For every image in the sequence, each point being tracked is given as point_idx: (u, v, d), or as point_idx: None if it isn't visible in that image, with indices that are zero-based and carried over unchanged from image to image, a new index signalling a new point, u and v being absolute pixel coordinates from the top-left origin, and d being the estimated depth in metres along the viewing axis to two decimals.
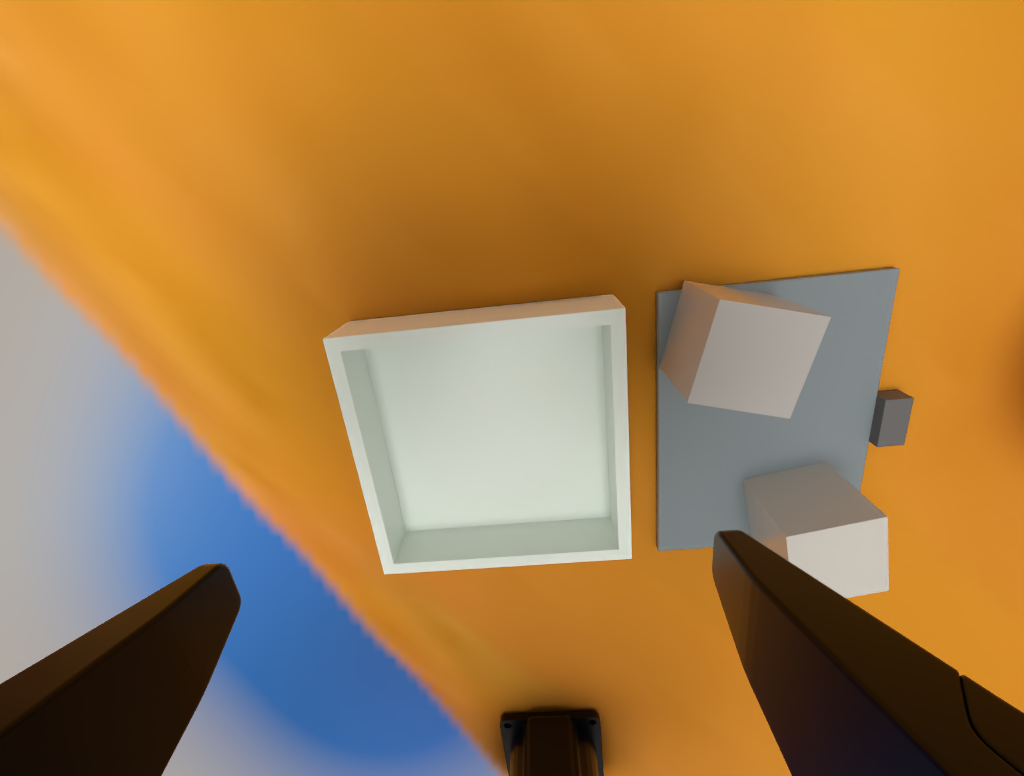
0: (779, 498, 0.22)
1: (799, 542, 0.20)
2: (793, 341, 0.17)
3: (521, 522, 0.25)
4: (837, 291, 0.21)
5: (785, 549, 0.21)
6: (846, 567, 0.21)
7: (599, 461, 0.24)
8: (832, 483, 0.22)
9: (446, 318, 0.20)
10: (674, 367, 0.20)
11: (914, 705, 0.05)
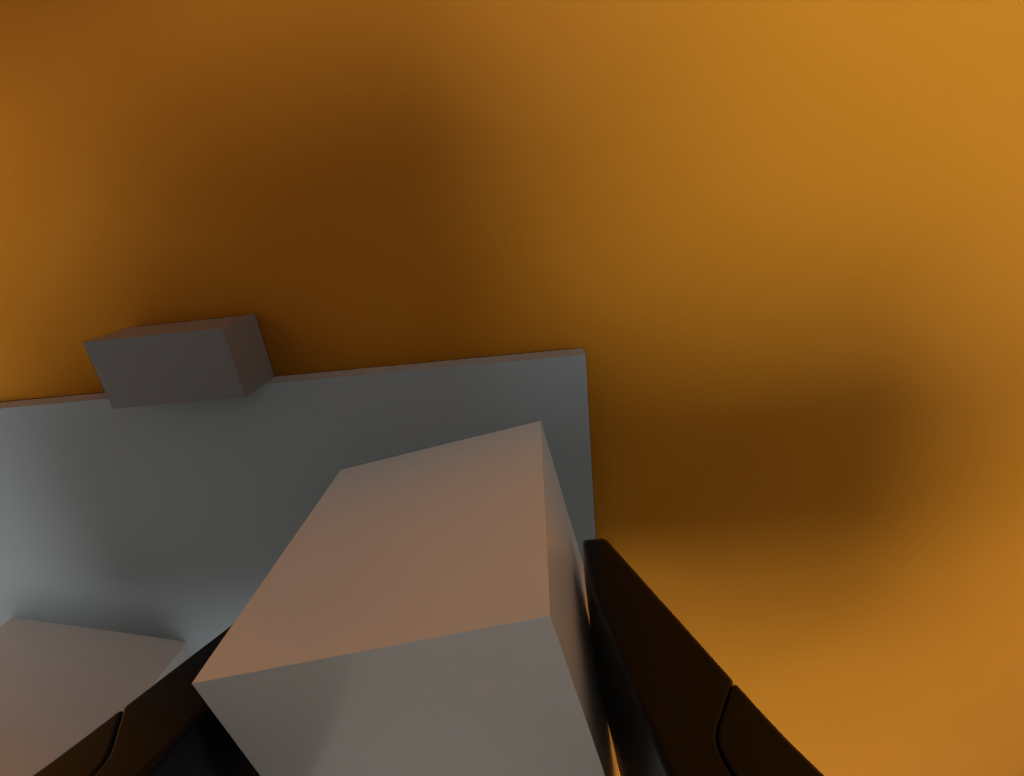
0: None
1: None
2: None
3: None
4: None
5: None
6: (439, 751, 0.05)
7: None
8: None
9: None
10: None
11: (681, 714, 0.05)
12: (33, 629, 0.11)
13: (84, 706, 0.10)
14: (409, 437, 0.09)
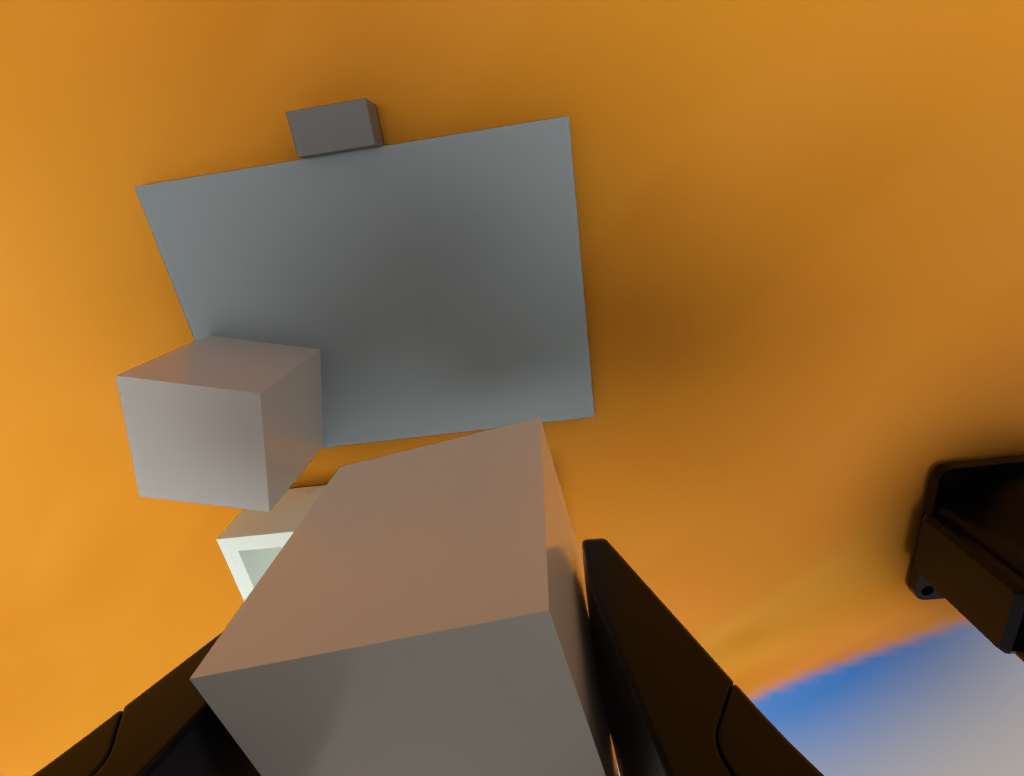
0: None
1: None
2: (159, 411, 0.14)
3: None
4: (184, 260, 0.16)
5: None
6: (437, 747, 0.05)
7: None
8: None
9: None
10: None
11: (680, 715, 0.05)
12: (224, 339, 0.17)
13: (271, 360, 0.16)
14: (466, 180, 0.15)
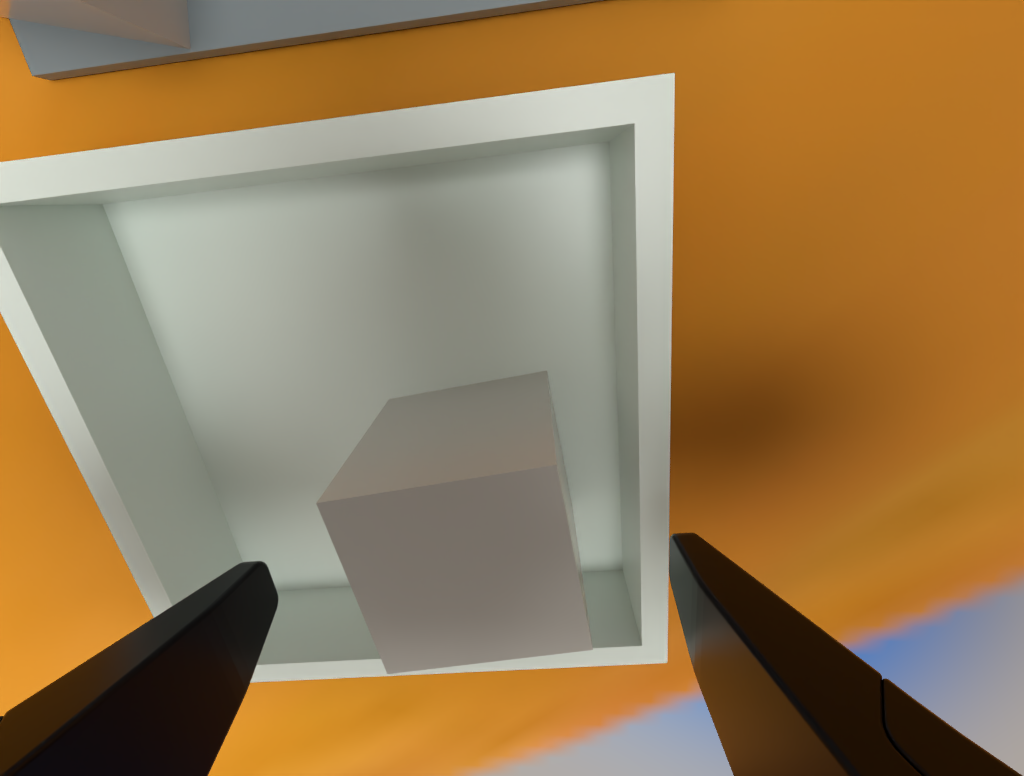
0: None
1: (399, 653, 0.09)
2: None
3: (614, 361, 0.11)
4: None
5: (430, 659, 0.09)
6: (473, 564, 0.08)
7: (447, 184, 0.10)
8: None
9: None
10: (77, 9, 0.08)
11: (833, 708, 0.05)
12: None
13: None
14: None
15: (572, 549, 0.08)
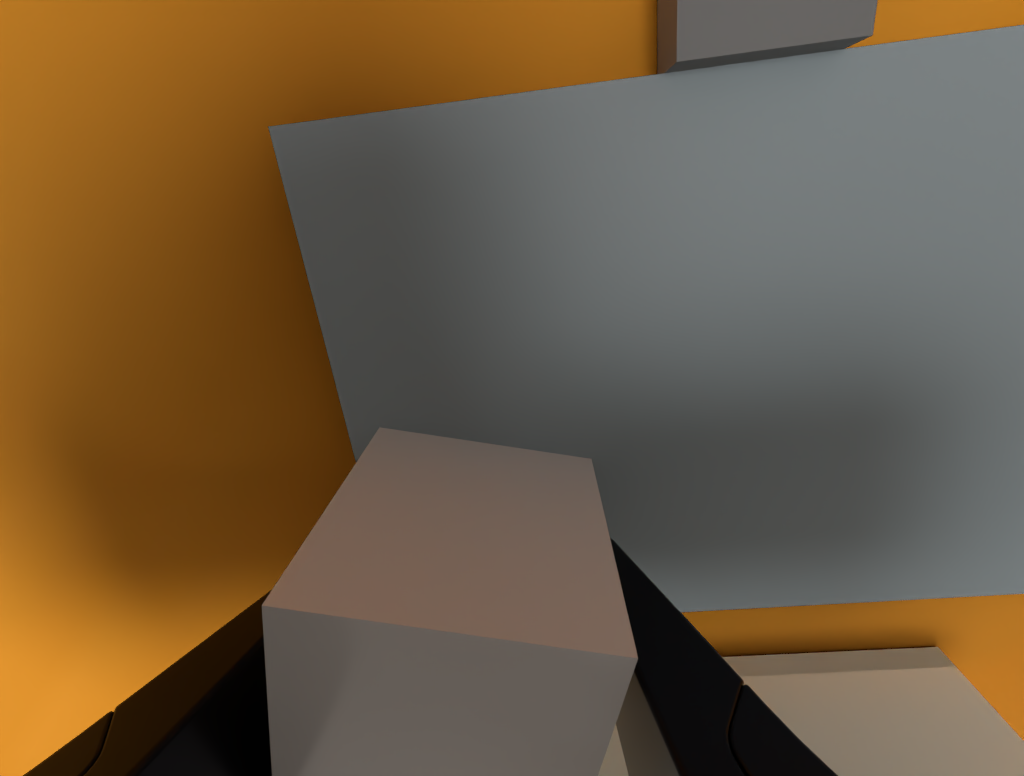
0: None
1: None
2: (359, 683, 0.05)
3: None
4: (352, 284, 0.08)
5: None
6: None
7: None
8: None
9: None
10: None
11: (692, 713, 0.05)
12: (414, 438, 0.09)
13: (544, 504, 0.07)
14: (1011, 133, 0.07)
15: None
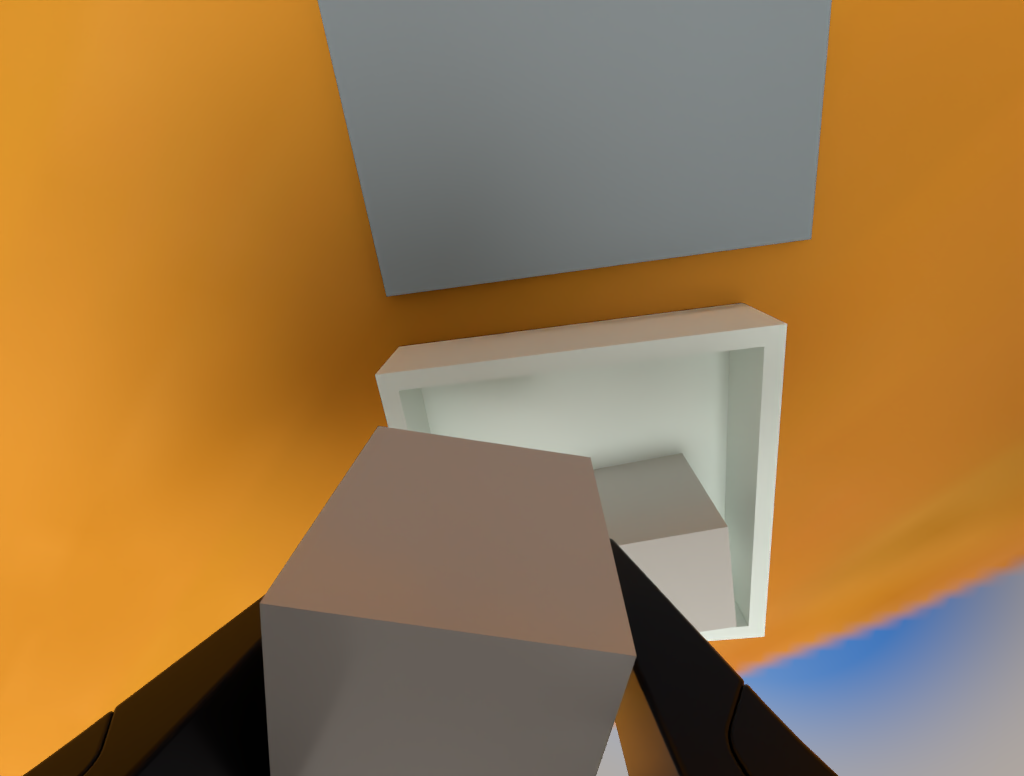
0: None
1: None
2: (357, 681, 0.05)
3: (725, 446, 0.18)
4: (349, 27, 0.14)
5: None
6: (674, 580, 0.15)
7: None
8: None
9: None
10: None
11: (692, 713, 0.05)
12: (412, 436, 0.09)
13: (542, 502, 0.07)
14: None
15: (731, 570, 0.15)
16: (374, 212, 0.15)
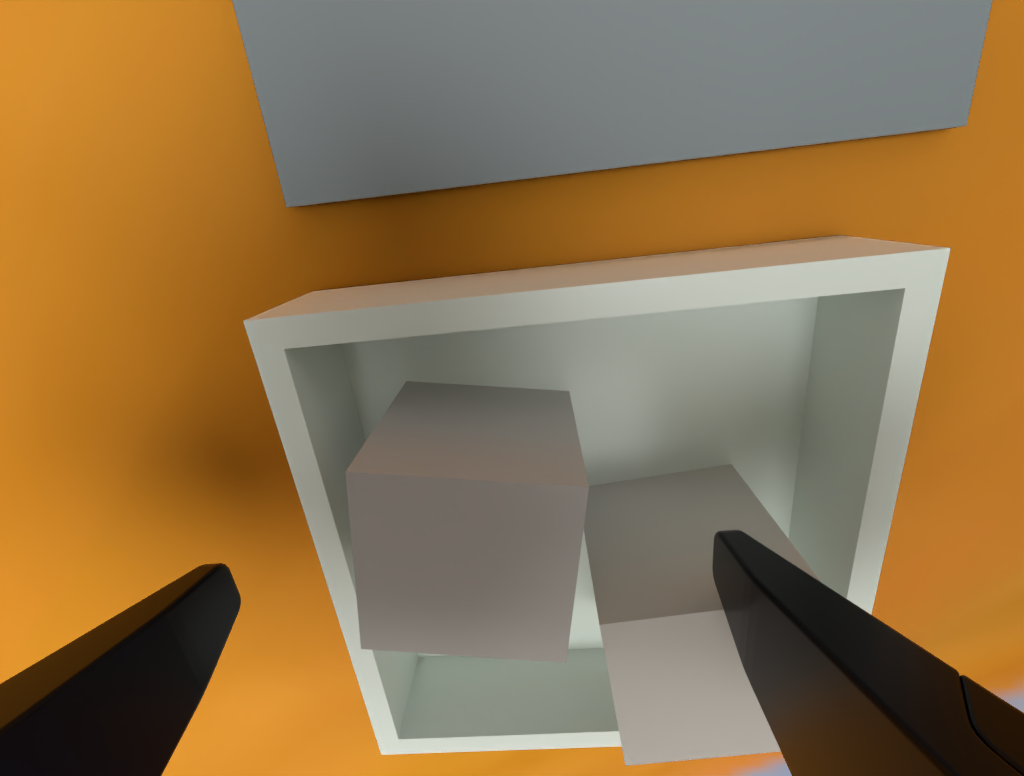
0: None
1: (641, 748, 0.10)
2: (410, 524, 0.08)
3: (796, 456, 0.12)
4: None
5: (662, 751, 0.10)
6: (731, 676, 0.09)
7: None
8: None
9: None
10: None
11: (913, 705, 0.05)
12: (432, 386, 0.12)
13: (530, 417, 0.10)
14: None
15: None
16: (260, 61, 0.09)
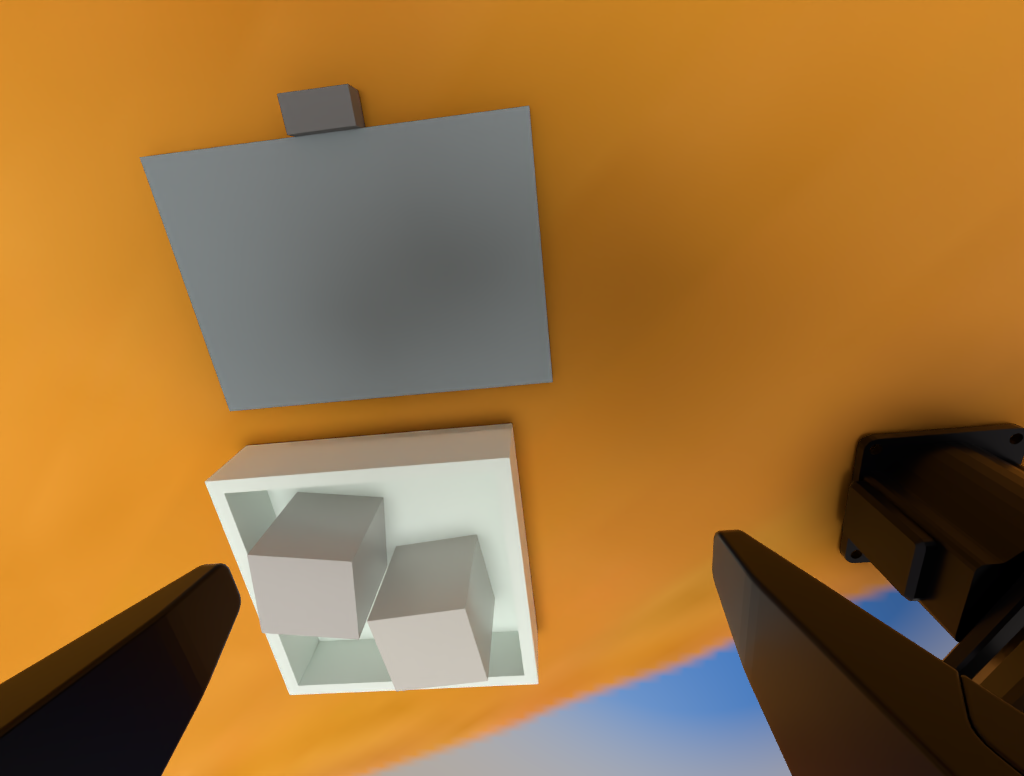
0: None
1: (401, 682, 0.20)
2: (277, 576, 0.18)
3: None
4: (182, 225, 0.18)
5: (415, 684, 0.20)
6: (433, 645, 0.19)
7: None
8: None
9: None
10: None
11: (912, 705, 0.05)
12: (310, 495, 0.22)
13: (350, 518, 0.20)
14: (438, 160, 0.17)
15: (474, 639, 0.19)
16: (214, 351, 0.20)
